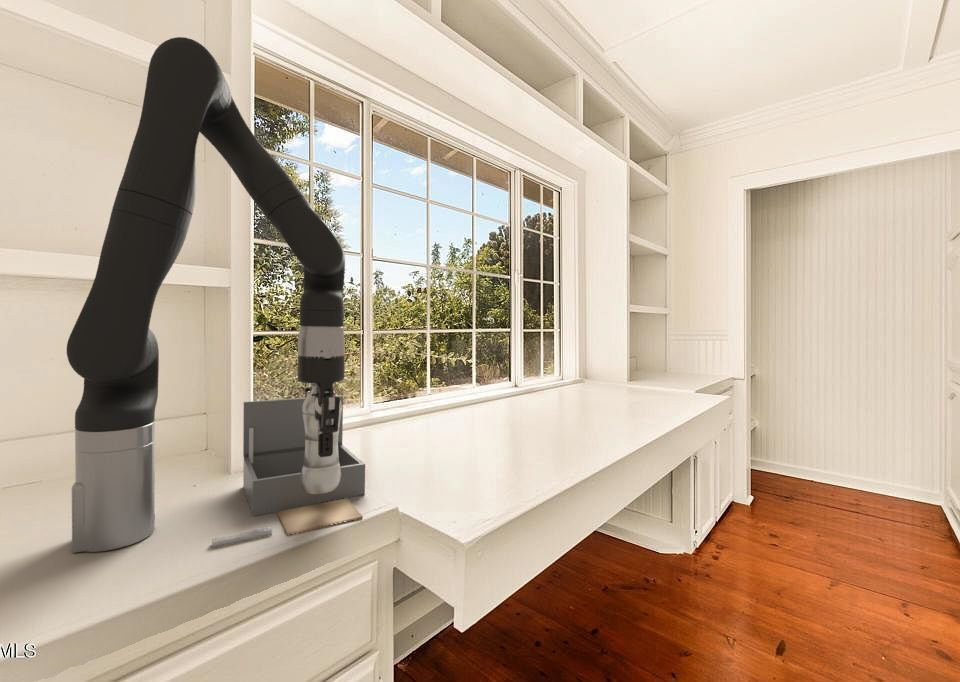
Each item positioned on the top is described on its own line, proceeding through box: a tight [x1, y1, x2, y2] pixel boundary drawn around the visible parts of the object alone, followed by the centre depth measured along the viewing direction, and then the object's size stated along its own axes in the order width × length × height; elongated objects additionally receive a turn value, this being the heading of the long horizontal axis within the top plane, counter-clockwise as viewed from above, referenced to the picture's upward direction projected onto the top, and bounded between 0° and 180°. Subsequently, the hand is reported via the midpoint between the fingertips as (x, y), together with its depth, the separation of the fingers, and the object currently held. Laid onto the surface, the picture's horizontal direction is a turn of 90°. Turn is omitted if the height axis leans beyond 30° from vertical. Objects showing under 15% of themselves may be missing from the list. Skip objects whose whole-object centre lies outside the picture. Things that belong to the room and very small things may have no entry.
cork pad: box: [277, 498, 363, 536], centre depth 76 cm, size 12×9×1 cm
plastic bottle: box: [300, 382, 342, 494], centre depth 76 cm, size 6×7×20 cm
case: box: [242, 394, 366, 517], centre depth 87 cm, size 20×16×17 cm
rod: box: [211, 526, 273, 549], centre depth 67 cm, size 8×1×1 cm, turn 124°
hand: (320, 450), depth 76 cm, fingers closed on plastic bottle, 5 cm apart
